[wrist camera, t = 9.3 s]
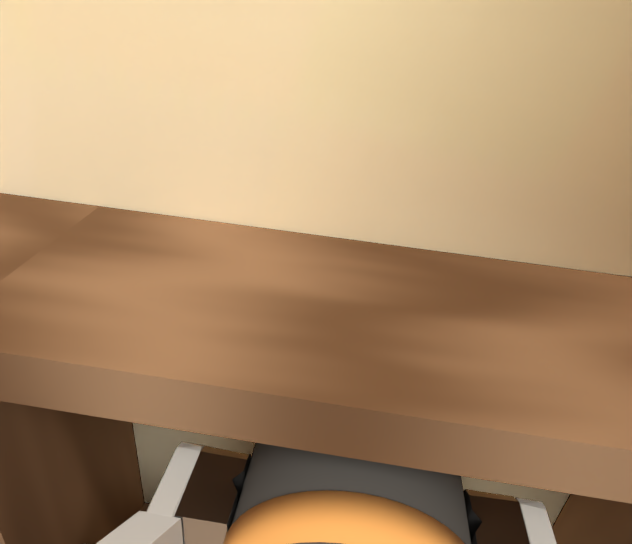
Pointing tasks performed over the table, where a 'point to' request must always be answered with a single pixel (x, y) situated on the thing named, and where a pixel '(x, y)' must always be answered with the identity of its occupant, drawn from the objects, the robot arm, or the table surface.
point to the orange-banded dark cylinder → (345, 502)
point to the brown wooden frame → (297, 362)
